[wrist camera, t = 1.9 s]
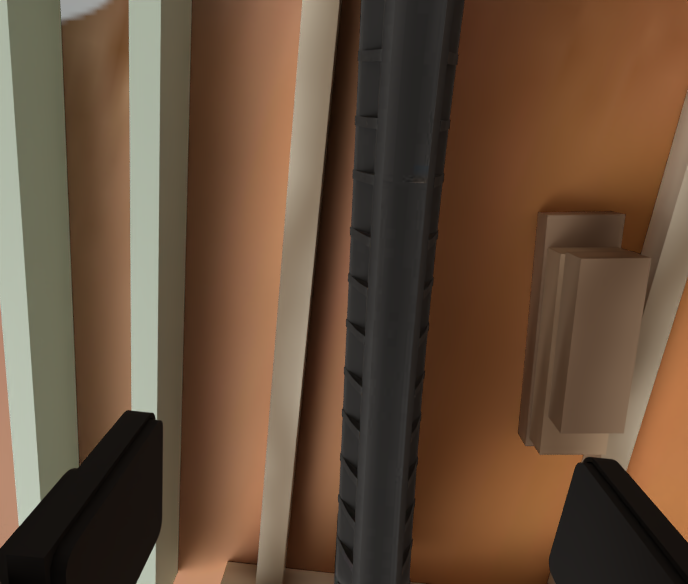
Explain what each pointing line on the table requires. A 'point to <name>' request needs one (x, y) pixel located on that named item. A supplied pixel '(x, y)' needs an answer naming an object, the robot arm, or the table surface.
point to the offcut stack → (580, 333)
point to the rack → (298, 278)
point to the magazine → (391, 275)
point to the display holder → (54, 245)
